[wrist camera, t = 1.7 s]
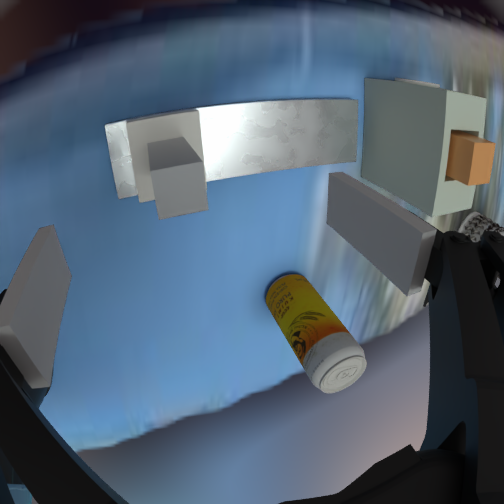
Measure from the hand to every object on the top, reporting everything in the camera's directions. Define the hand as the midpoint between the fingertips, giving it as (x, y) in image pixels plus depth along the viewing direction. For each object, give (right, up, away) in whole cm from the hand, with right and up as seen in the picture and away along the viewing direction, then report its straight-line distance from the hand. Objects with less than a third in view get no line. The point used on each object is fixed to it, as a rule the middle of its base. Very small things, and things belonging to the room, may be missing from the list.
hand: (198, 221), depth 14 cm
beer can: (+7, -6, +28) cm, 29 cm away
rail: (+1, +10, +16) cm, 19 cm away
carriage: (-5, +7, +13) cm, 16 cm away
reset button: (+21, +9, +13) cm, 26 cm away
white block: (+18, +13, +20) cm, 31 cm away
